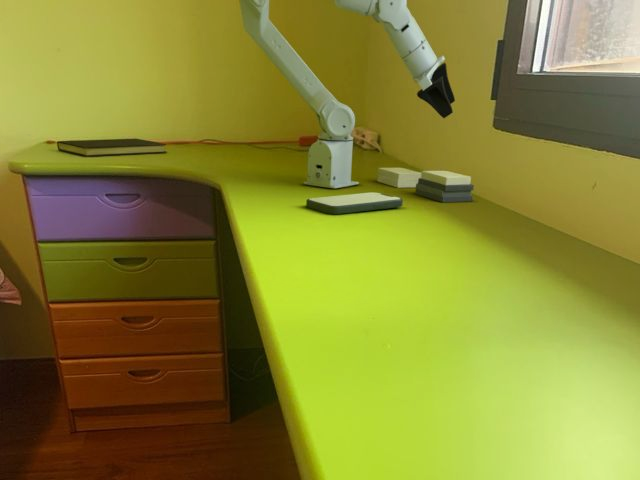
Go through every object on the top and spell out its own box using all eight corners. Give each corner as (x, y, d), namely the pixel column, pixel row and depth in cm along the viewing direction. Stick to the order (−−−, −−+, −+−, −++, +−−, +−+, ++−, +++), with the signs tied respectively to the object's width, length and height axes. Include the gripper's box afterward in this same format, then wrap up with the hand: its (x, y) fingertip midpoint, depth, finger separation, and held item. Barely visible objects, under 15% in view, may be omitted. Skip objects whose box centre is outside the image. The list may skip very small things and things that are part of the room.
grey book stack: (472, 201, 133) (474, 184, 131) (442, 202, 130) (444, 185, 129) (443, 193, 141) (445, 177, 139) (415, 193, 138) (416, 178, 137)
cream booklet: (470, 184, 131) (471, 176, 131) (445, 185, 129) (446, 177, 129) (444, 177, 139) (445, 170, 138) (420, 178, 136) (421, 170, 136)
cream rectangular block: (421, 187, 147) (423, 173, 145) (397, 187, 145) (398, 173, 143) (399, 180, 154) (400, 167, 153) (376, 181, 152) (377, 167, 151)
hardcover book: (166, 152, 185) (165, 143, 184) (86, 156, 171) (85, 147, 170) (135, 147, 196) (135, 138, 194) (57, 150, 181) (56, 140, 180)
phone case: (332, 217, 114) (405, 208, 122) (332, 206, 113) (406, 198, 121) (303, 208, 120) (374, 200, 129) (303, 198, 120) (374, 191, 128)
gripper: (427, 44, 127) (465, 108, 133) (434, 27, 138) (468, 87, 144) (396, 68, 131) (433, 129, 137) (404, 49, 142) (439, 107, 148)
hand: (449, 109), depth 141 cm, fingers open, 7 cm apart
